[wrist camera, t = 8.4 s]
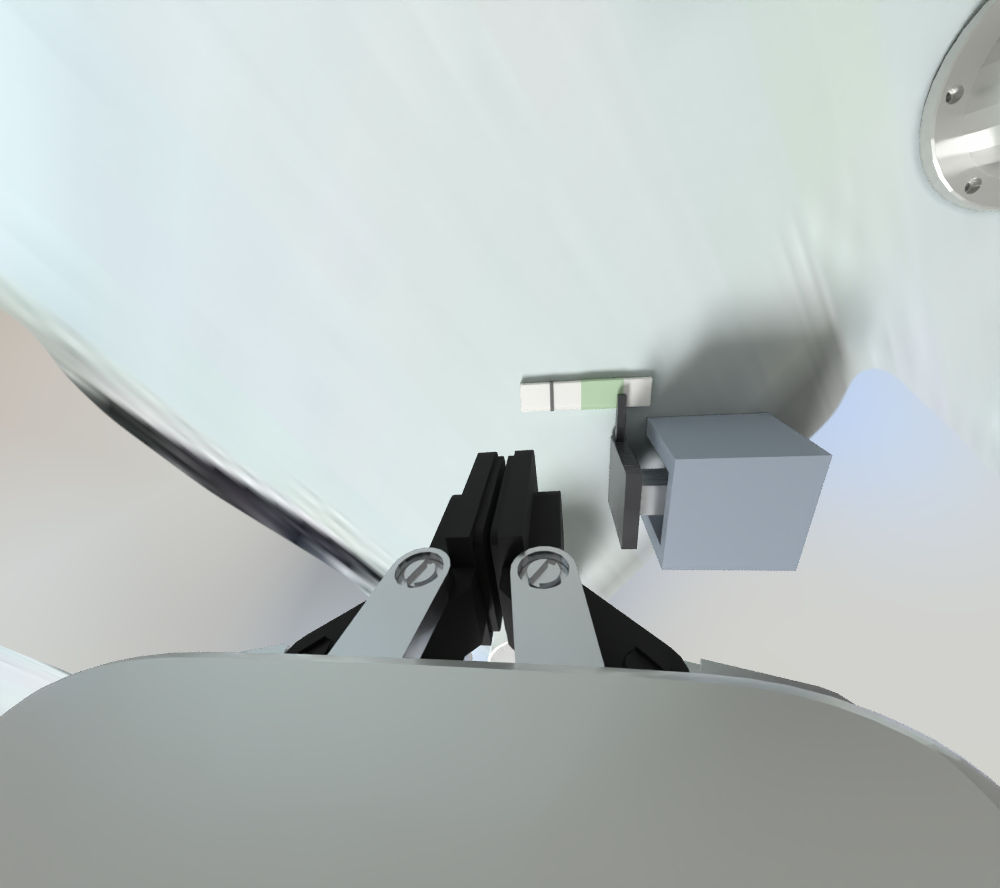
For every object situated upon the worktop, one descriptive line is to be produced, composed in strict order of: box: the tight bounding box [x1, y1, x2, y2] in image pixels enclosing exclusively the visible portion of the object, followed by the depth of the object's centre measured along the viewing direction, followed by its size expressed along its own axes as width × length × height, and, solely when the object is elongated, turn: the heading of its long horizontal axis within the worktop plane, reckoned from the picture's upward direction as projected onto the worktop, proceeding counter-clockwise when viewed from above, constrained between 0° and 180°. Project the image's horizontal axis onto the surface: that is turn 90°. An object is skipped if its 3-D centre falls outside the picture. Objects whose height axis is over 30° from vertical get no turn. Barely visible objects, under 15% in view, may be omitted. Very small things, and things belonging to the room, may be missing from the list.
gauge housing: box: [520, 377, 832, 571], centre depth 32 cm, size 21×14×8 cm, turn 95°
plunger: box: [608, 394, 669, 549], centre depth 31 cm, size 10×11×7 cm
